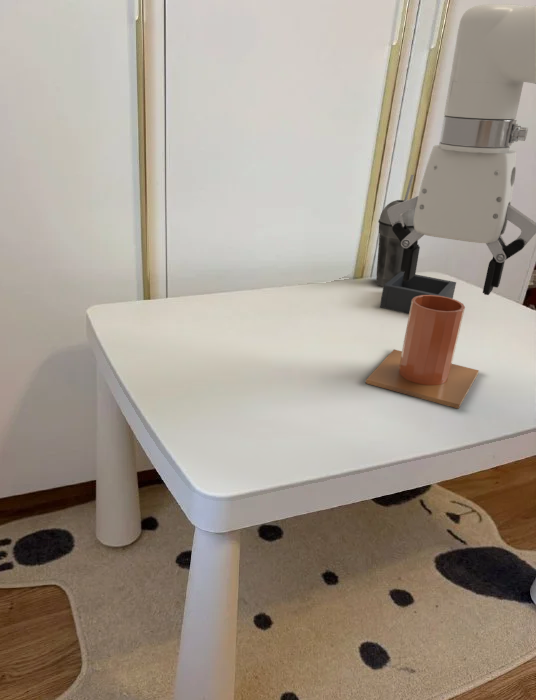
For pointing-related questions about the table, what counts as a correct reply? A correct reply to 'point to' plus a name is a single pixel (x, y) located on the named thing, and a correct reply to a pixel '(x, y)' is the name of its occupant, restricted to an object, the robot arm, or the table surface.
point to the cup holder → (413, 291)
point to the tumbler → (430, 339)
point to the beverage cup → (391, 242)
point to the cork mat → (442, 393)
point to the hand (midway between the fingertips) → (447, 284)
